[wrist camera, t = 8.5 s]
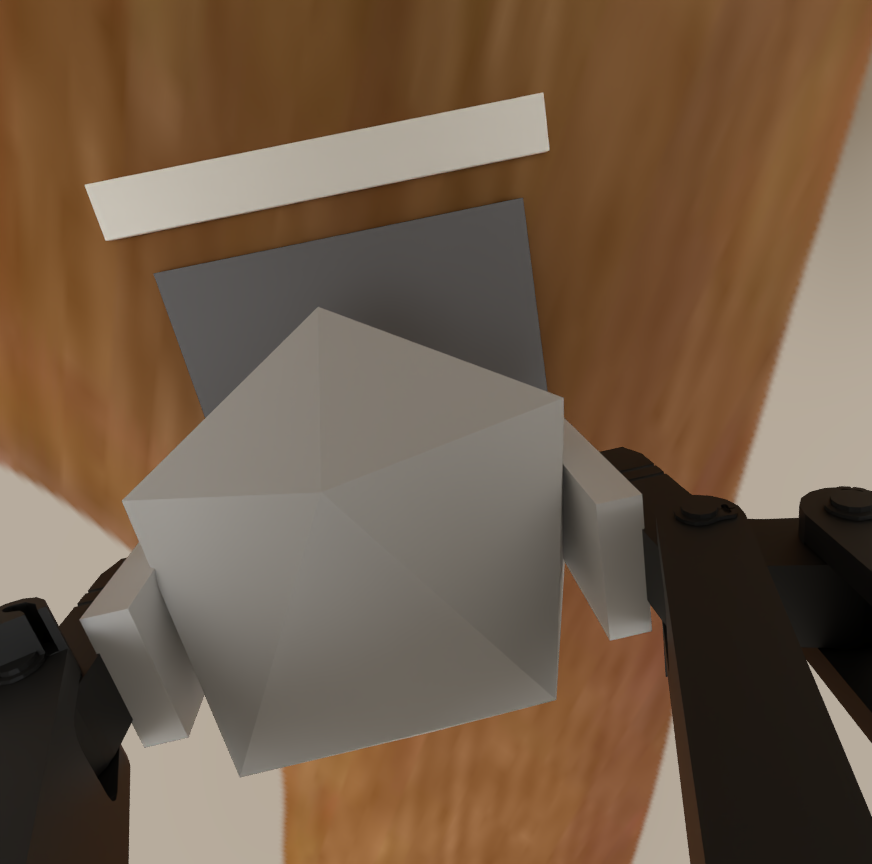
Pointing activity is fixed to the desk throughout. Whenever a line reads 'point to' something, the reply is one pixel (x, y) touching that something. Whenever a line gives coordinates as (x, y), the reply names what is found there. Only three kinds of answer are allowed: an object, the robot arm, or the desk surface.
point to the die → (361, 545)
